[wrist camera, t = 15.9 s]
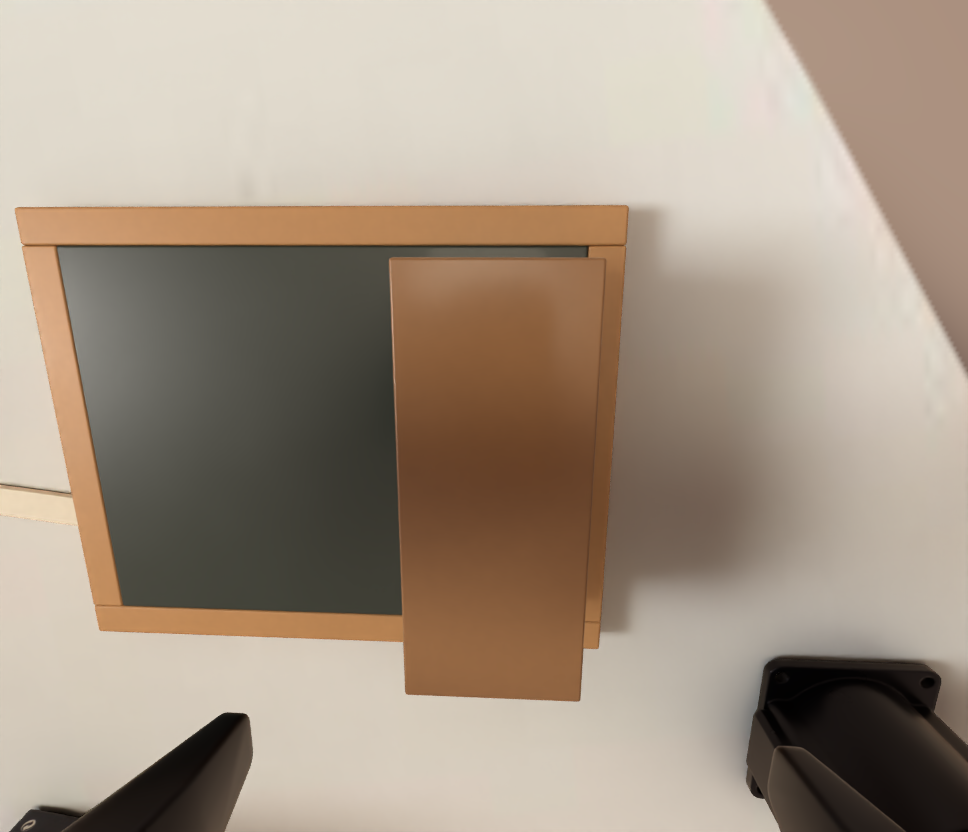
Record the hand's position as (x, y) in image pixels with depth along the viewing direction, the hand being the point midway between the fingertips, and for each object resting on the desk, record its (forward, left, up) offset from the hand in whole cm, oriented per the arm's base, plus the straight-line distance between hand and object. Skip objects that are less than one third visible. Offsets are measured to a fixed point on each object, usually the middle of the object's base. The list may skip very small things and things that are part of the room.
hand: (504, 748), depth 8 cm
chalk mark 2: (+19, +1, -11) cm, 21 cm away
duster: (0, -2, -10) cm, 10 cm away
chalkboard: (+6, -2, -11) cm, 13 cm away
